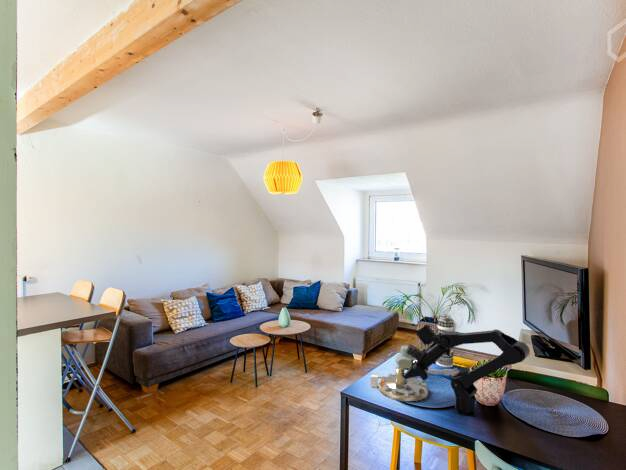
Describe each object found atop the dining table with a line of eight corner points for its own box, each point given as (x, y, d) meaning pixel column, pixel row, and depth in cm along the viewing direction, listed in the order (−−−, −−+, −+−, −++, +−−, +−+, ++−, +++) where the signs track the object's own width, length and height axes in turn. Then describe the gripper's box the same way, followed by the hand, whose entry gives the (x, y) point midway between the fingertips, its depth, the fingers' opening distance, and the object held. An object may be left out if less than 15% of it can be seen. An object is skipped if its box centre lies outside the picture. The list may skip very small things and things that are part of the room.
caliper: (459, 381, 163) (460, 368, 163) (459, 382, 162) (459, 368, 162) (416, 370, 174) (417, 358, 174) (416, 371, 174) (416, 359, 173)
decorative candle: (433, 360, 188) (434, 314, 188) (451, 361, 187) (452, 315, 187) (437, 367, 179) (438, 319, 178) (456, 368, 178) (457, 319, 178)
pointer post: (381, 386, 156) (382, 375, 156) (381, 388, 154) (381, 378, 154) (371, 384, 157) (371, 374, 157) (370, 386, 155) (370, 376, 155)
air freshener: (417, 365, 181) (418, 346, 181) (416, 371, 173) (416, 351, 173) (396, 362, 185) (396, 343, 185) (394, 367, 177) (394, 348, 177)
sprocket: (434, 388, 151) (435, 366, 151) (407, 401, 139) (408, 377, 139) (398, 373, 166) (399, 353, 166) (371, 383, 154) (371, 362, 154)
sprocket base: (426, 383, 160) (426, 380, 160) (429, 405, 139) (429, 401, 139) (380, 377, 165) (380, 374, 165) (376, 397, 145) (376, 394, 145)
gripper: (417, 333, 154) (391, 355, 157) (419, 345, 136) (390, 370, 139) (435, 352, 152) (409, 375, 155) (440, 368, 134) (410, 393, 137)
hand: (404, 377), depth 146 cm, fingers closed, pressing on sprocket
